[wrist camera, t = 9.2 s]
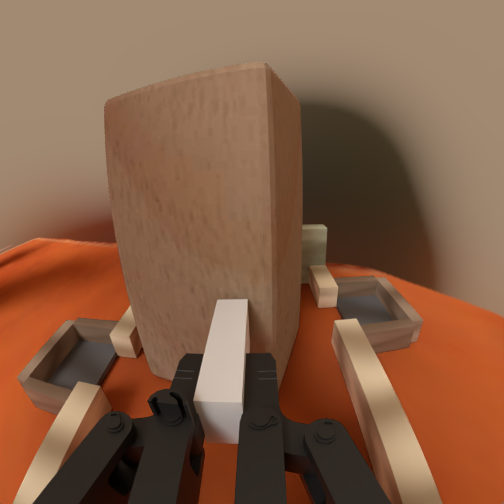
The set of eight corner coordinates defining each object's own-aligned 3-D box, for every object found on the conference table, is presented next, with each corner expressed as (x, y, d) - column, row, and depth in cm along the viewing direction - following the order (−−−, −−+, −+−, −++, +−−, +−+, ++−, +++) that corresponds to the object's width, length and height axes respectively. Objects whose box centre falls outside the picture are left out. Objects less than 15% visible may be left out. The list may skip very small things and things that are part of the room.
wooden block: (273, 409, 16) (267, 57, 10) (150, 376, 19) (101, 99, 13) (299, 328, 25) (300, 99, 18) (203, 314, 28) (185, 111, 21)
